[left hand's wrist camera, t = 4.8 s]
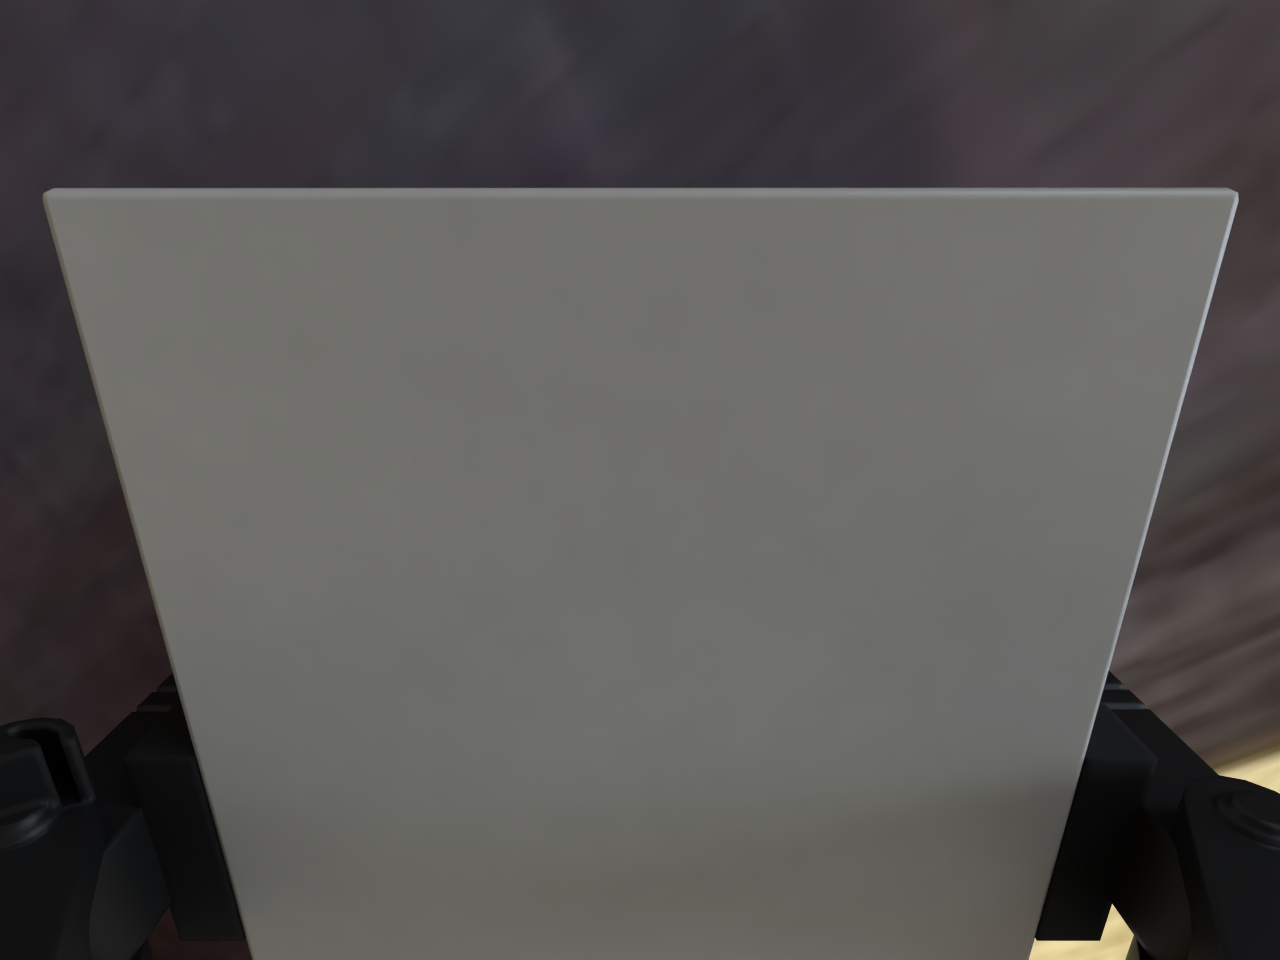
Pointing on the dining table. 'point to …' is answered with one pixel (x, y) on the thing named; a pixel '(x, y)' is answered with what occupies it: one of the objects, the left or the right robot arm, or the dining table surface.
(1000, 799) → the thick board
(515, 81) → the dining table surface
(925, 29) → the dining table surface
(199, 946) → the dining table surface
